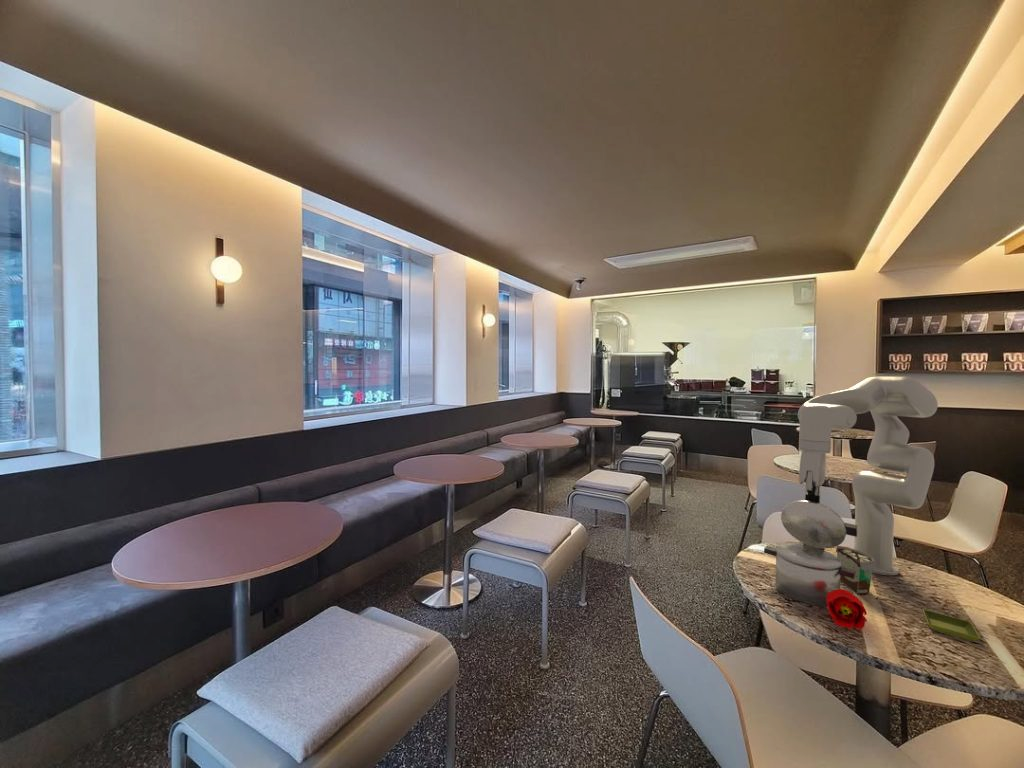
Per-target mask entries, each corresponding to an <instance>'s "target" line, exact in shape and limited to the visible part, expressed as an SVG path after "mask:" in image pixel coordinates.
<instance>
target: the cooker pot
mask: <svg viewBox="0 0 1024 768" xmlns="http://www.w3.org/2000/svg"><path fill="white" fill-rule="evenodd" d="M763 553H764V554H767V555H770V556H772V557H773V556H774V557H775V576H774V578H775V580H774V585H775V588H776V587H777V588H776V589H777V590H778V591H779V592H780V593H782V594H783V595H785V596H786V597H789V598H791V599H793V600H796V601H797V602H800V603H805V604H806V605H812V606H817V607H826V608H827V602H826V595H827V594H828V593H829V592H831V591H833V590H838V589H841V582H840V578H841V575H842V576H846V577H849V578H852V579H854V577H855V574H856V570H853V569H849V568H846V567H842V561H841V560H840V559H839V558H838V557H837V555H835V554H833V553H831V552H829V551H827V550H821V549H818V548H814V547H810V546H806V545H803V544H798V543H780V544H777V545H775V547H773V546H771V545H770V546H769V545H766V546H765V547H764V548H763Z"/></svg>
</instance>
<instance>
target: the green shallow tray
mask: <svg viewBox="0 0 1024 768" xmlns="http://www.w3.org/2000/svg"><path fill="white" fill-rule="evenodd" d="M922 612H923V615H924V618H925V620H926V623H927V625H928V626H929V628H930V629H931V630H933V632H937V633H941V634H945V635H948V636H953V637H954V638H955V637H956V638H958V639H962V640H965V641H970V642H975V641H978V640H980V639H981V637H980V635H979V633H978V632H977V631H978V630H977V629H976V628H975V625H974V624H973V623H972V622H971V621H969V620H966V619H962V618H958V617H954V616H950V615H946V614H943V613H939V612H936V611H932V610H928V609H922Z"/></svg>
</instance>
